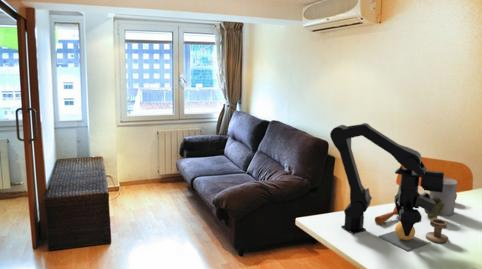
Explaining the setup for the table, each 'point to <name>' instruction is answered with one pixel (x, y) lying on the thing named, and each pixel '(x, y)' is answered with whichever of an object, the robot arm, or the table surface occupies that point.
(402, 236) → the rubber ball
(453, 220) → the table surface
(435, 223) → the ball tee
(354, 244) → the table surface
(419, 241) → the mat
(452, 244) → the table surface
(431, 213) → the cup
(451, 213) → the pillar candle
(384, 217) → the kendama
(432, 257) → the table surface
